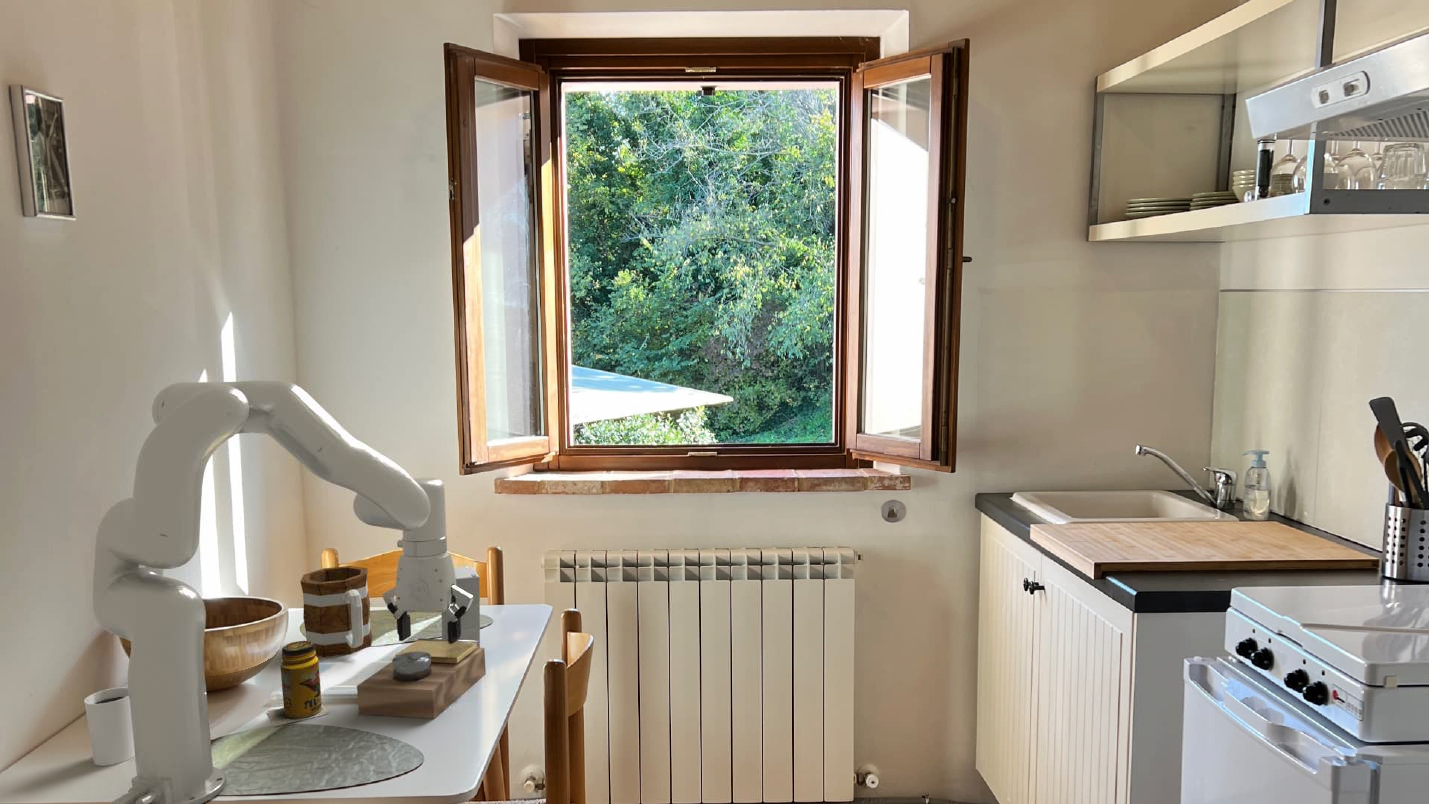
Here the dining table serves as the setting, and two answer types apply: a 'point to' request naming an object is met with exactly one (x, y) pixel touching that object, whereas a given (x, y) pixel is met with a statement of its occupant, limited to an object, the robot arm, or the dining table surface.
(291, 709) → the condiment
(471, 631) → the skincare box
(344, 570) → the mug
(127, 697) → the white cup
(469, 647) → the brass keeper
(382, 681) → the block
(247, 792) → the dining table surface
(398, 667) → the steel pin
